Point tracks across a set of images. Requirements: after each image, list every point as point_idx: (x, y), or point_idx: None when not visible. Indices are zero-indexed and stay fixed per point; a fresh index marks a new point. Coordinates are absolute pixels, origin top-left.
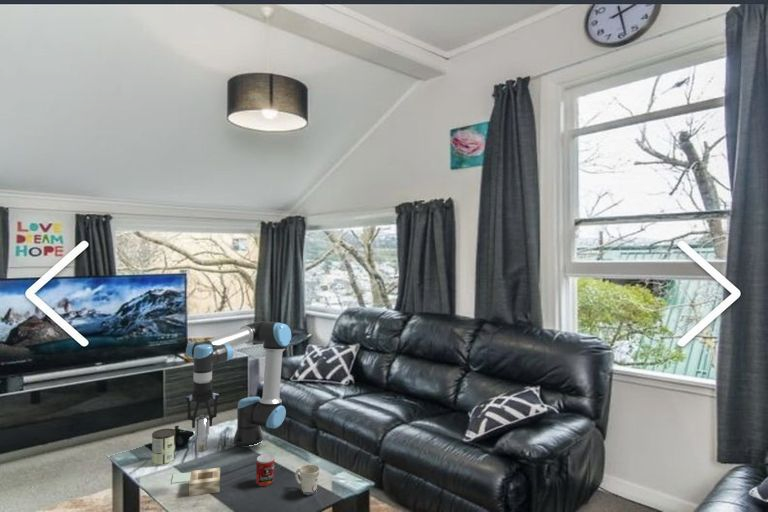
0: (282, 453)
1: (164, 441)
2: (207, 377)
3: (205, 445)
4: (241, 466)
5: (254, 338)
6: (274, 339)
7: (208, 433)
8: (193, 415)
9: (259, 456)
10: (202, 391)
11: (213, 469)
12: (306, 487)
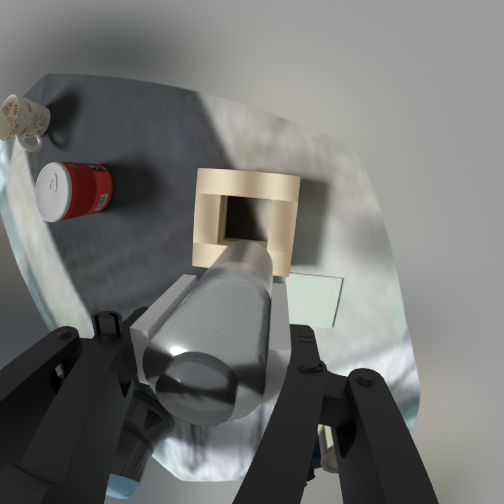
0: (67, 324)
1: None
2: None
3: (223, 252)
4: (145, 304)
5: None
6: None
7: (185, 277)
8: (316, 407)
9: (61, 210)
10: None
11: (214, 259)
12: (36, 103)
